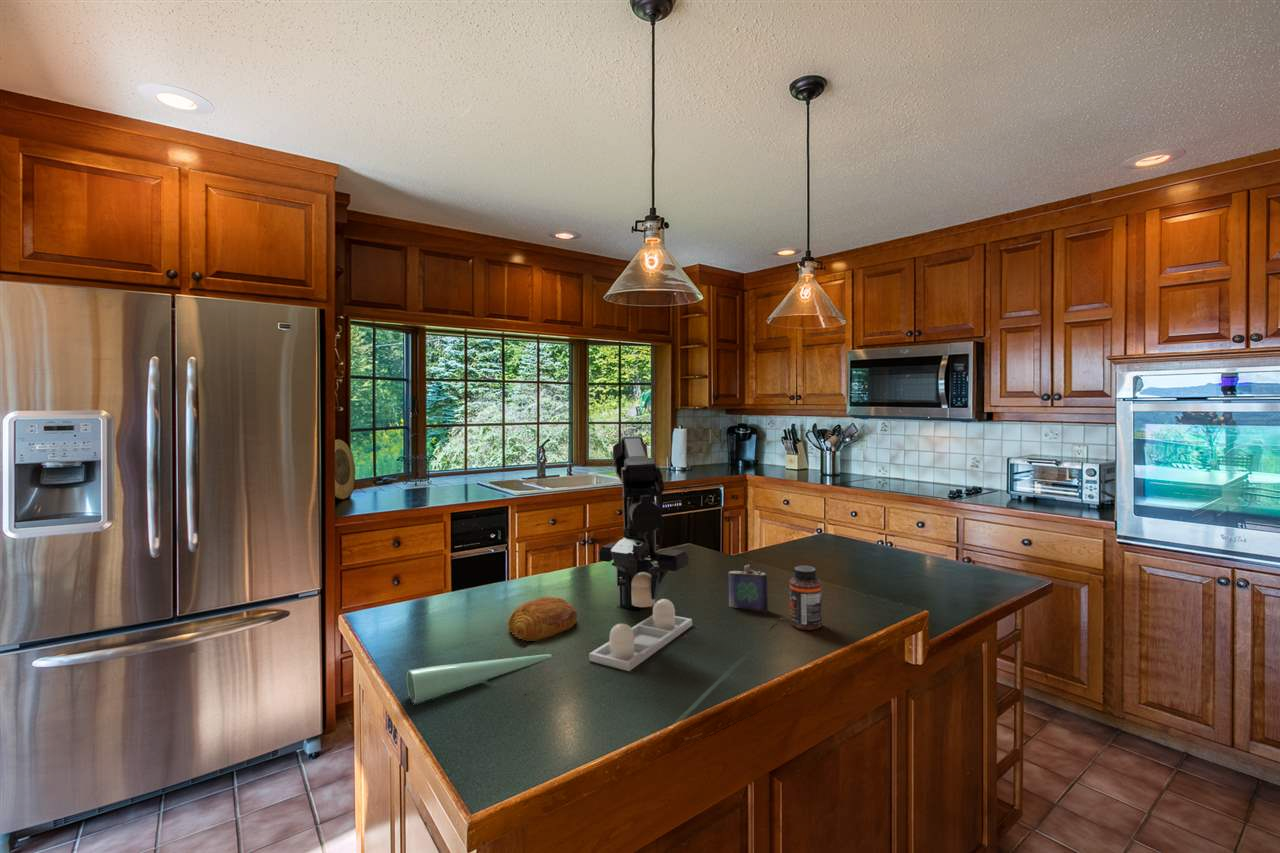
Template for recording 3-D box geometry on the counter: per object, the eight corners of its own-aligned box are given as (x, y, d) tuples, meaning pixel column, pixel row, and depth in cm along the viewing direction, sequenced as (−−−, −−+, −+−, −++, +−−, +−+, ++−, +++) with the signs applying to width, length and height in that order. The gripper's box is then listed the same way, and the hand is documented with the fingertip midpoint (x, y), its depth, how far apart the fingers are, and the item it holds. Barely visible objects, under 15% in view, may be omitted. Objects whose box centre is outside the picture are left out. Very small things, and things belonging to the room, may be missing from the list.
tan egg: (639, 598, 123) (638, 568, 123) (659, 601, 121) (658, 571, 121) (627, 604, 119) (626, 573, 119) (647, 608, 117) (646, 577, 116)
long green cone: (558, 636, 112) (414, 676, 96) (558, 665, 112) (415, 709, 96) (545, 628, 117) (405, 665, 101) (545, 656, 117) (406, 697, 101)
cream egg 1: (605, 658, 112) (604, 626, 112) (618, 649, 116) (618, 618, 116) (625, 664, 110) (624, 630, 110) (639, 654, 114) (638, 622, 114)
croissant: (587, 637, 131) (591, 601, 131) (530, 649, 119) (534, 610, 120) (548, 620, 141) (552, 587, 141) (492, 630, 129) (496, 594, 130)
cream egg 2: (649, 630, 126) (648, 601, 126) (660, 623, 130) (659, 594, 130) (668, 634, 124) (667, 604, 124) (679, 626, 128) (678, 598, 128)
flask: (728, 609, 140) (727, 565, 140) (730, 605, 143) (729, 562, 142) (767, 613, 137) (766, 568, 137) (768, 609, 140) (767, 564, 139)
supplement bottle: (785, 620, 132) (784, 564, 131) (814, 619, 132) (814, 563, 132) (796, 632, 125) (795, 572, 124) (826, 630, 125) (826, 571, 125)
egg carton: (589, 663, 112) (589, 653, 112) (656, 620, 133) (656, 612, 133) (629, 674, 107) (628, 663, 107) (692, 628, 129) (692, 619, 129)
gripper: (581, 525, 118) (583, 601, 118) (661, 533, 108) (663, 617, 108) (612, 516, 127) (614, 586, 127) (688, 523, 117) (690, 599, 118)
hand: (643, 597), depth 120 cm, fingers closed on tan egg, 5 cm apart
